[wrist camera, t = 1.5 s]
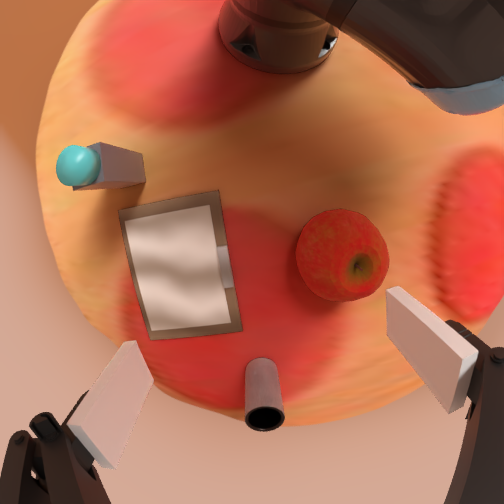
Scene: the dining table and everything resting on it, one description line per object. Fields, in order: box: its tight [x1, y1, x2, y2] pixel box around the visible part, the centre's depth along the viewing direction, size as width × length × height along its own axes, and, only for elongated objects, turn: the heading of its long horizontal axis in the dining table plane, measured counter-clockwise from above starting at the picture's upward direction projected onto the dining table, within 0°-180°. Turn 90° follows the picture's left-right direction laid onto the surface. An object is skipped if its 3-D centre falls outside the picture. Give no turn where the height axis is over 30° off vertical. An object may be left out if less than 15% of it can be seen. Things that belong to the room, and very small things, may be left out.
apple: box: [295, 209, 389, 302], centre depth 30 cm, size 10×10×10 cm
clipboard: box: [118, 190, 243, 340], centre depth 35 cm, size 18×13×1 cm
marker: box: [56, 142, 146, 191], centre depth 26 cm, size 4×4×14 cm
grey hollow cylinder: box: [245, 358, 285, 432], centre depth 33 cm, size 4×4×10 cm
